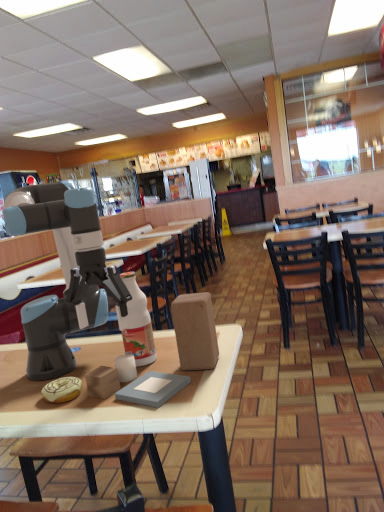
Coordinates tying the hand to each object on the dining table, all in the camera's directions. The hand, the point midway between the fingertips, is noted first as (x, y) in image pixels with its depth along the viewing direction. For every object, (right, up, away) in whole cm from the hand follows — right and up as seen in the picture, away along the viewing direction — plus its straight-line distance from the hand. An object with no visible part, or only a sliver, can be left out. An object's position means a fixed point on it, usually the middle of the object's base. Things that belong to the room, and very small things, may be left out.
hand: (103, 328), depth 111 cm
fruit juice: (+8, -14, +20) cm, 26 cm away
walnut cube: (0, -17, +1) cm, 18 cm away
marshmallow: (+5, -16, +9) cm, 19 cm away
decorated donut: (-12, -19, +4) cm, 23 cm away
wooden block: (+26, -12, +11) cm, 31 cm away
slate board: (+13, -16, -2) cm, 21 cm away
